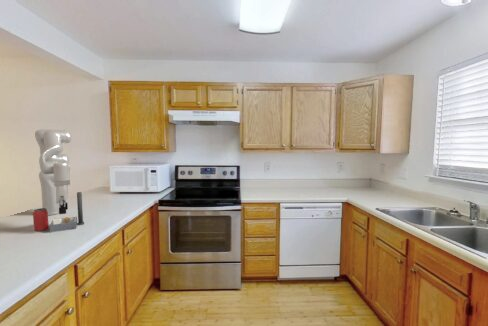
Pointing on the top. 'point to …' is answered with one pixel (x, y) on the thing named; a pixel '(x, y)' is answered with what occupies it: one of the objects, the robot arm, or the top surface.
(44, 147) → the robot arm
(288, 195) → the top surface
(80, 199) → the post
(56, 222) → the white block
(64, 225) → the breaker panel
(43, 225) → the beer can
